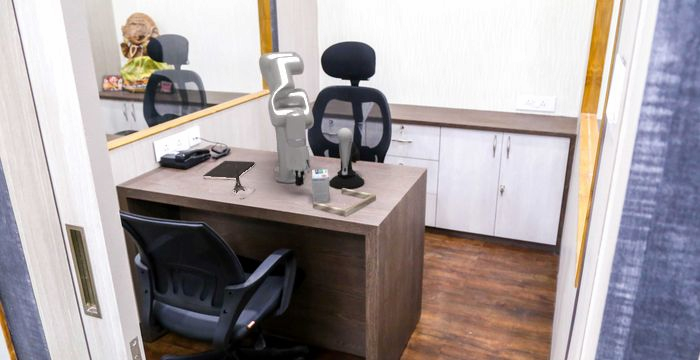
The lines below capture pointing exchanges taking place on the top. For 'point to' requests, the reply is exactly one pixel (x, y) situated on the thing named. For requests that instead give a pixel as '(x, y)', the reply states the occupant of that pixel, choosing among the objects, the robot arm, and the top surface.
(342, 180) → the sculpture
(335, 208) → the bay
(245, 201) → the top surface
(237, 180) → the eiffel tower figurine
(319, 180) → the light bulb box
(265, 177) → the top surface
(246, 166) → the hardcover book
